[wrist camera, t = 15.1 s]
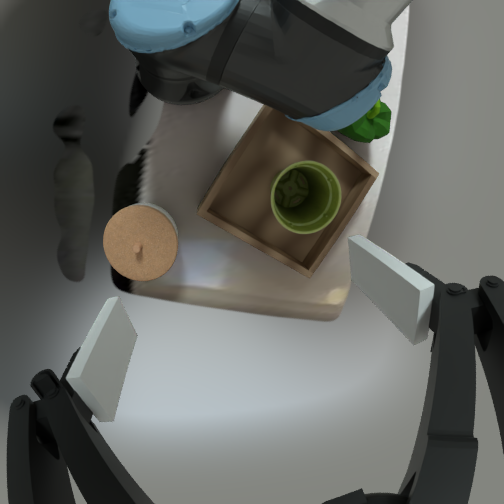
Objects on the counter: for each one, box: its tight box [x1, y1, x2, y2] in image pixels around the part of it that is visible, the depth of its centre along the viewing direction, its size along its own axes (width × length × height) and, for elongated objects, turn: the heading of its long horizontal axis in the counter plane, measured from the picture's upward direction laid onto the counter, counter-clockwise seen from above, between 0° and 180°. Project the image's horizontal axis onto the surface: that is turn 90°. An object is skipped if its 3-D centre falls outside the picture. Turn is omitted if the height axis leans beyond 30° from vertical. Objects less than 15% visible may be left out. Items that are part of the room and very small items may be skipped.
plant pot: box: [270, 161, 341, 234], centre depth 40 cm, size 9×9×9 cm
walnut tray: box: [197, 105, 379, 278], centre depth 43 cm, size 20×20×5 cm
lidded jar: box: [103, 203, 179, 281], centre depth 40 cm, size 11×11×9 cm
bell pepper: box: [338, 98, 391, 143], centre depth 38 cm, size 8×8×10 cm
